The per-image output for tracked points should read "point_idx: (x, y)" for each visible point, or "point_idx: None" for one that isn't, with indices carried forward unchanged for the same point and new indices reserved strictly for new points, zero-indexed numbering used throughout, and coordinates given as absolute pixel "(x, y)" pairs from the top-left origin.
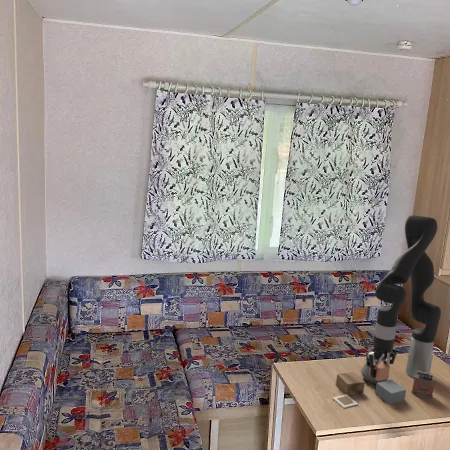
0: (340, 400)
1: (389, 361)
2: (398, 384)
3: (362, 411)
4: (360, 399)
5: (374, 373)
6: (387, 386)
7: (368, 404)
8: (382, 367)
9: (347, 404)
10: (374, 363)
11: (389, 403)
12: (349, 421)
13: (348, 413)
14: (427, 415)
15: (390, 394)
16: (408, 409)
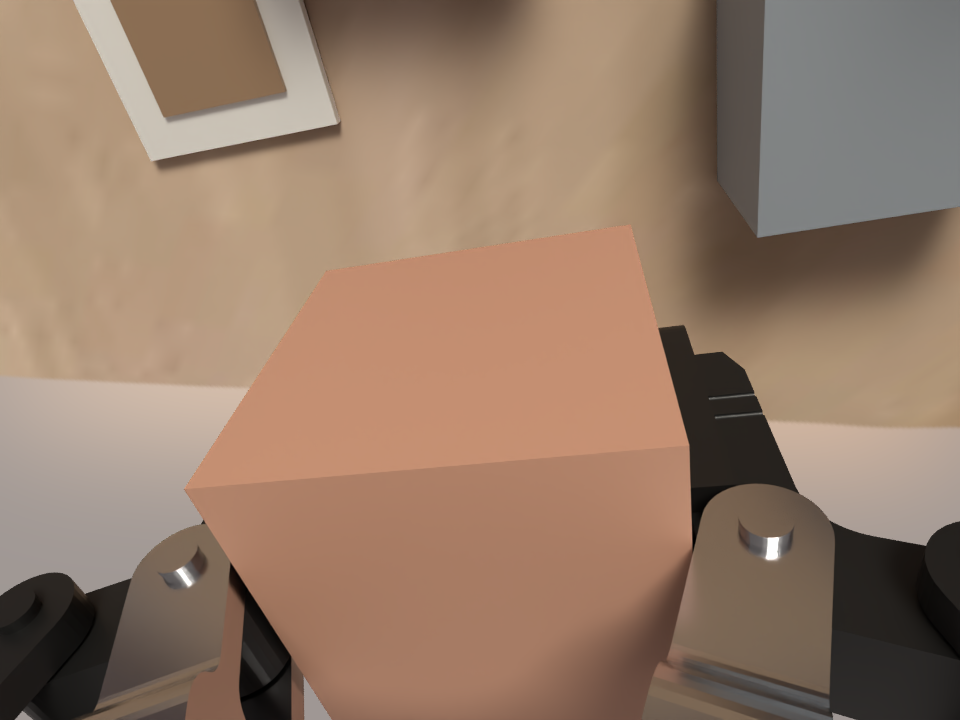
0: (128, 28)
1: (883, 715)
2: None
3: (338, 239)
4: (418, 14)
5: None
6: (867, 45)
7: (465, 137)
8: (452, 711)
9: (202, 116)
10: (310, 550)
11: (719, 180)
12: (166, 341)
13: (185, 243)
14: (939, 402)
15: (751, 215)
16: (847, 296)
